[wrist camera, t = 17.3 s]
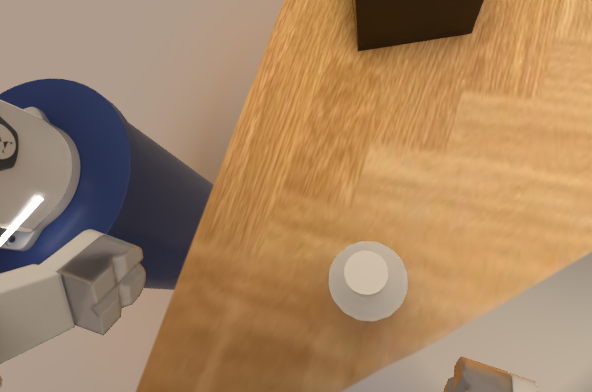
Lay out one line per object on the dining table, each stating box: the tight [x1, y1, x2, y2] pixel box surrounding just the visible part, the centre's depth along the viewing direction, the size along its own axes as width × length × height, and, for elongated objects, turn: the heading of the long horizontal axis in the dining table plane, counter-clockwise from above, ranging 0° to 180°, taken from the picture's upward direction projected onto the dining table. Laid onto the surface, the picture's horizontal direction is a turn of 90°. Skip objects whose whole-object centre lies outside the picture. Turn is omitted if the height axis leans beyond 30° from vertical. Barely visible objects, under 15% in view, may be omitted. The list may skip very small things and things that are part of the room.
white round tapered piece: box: [328, 241, 408, 321], centre depth 32 cm, size 5×5×25 cm
